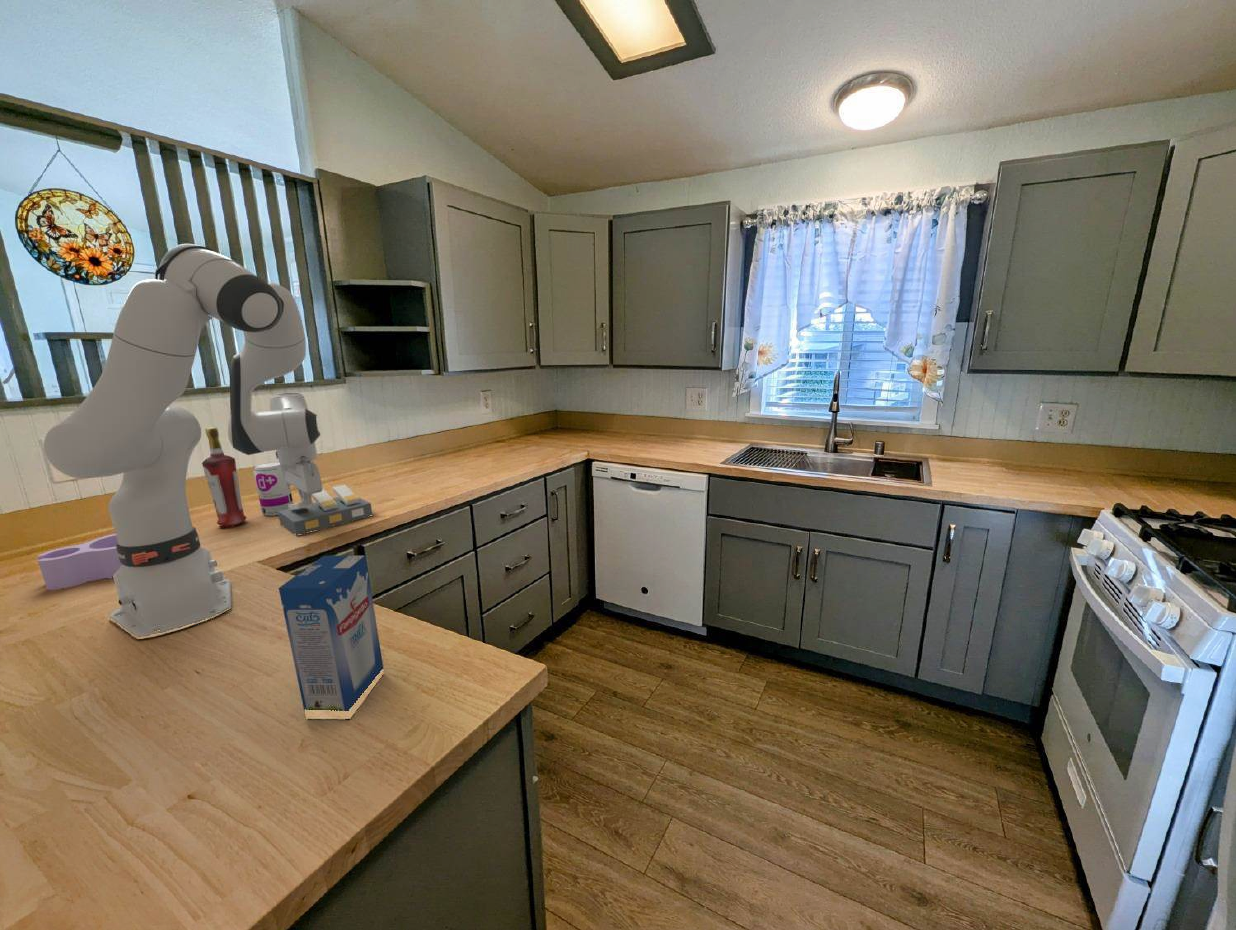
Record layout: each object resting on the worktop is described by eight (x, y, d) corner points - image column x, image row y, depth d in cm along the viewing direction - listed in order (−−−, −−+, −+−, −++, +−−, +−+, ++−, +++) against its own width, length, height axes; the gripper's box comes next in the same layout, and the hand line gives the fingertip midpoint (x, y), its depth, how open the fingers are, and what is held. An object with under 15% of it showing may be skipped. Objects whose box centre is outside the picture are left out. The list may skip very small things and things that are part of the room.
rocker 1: (313, 505, 140) (312, 500, 140) (299, 508, 138) (297, 503, 138) (302, 505, 147) (301, 501, 147) (289, 509, 145) (287, 504, 145)
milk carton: (345, 673, 80) (324, 555, 75) (384, 673, 79) (365, 554, 74) (305, 720, 70) (278, 588, 65) (350, 720, 70) (325, 587, 65)
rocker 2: (337, 507, 145) (337, 503, 145) (324, 510, 143) (323, 506, 142) (323, 492, 151) (323, 488, 150) (310, 495, 149) (310, 491, 148)
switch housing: (373, 516, 151) (370, 500, 149) (297, 536, 136) (293, 519, 135) (353, 506, 160) (351, 491, 159) (280, 524, 146) (277, 508, 144)
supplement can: (283, 516, 152) (273, 467, 149) (256, 516, 152) (245, 468, 149) (300, 507, 160) (291, 461, 156) (274, 507, 160) (264, 461, 157)
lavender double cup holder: (48, 596, 107) (38, 566, 105) (46, 579, 115) (36, 550, 113) (171, 563, 122) (164, 536, 120) (162, 550, 130) (155, 525, 128)
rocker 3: (359, 502, 150) (359, 498, 149) (346, 505, 147) (346, 501, 147) (345, 488, 155) (344, 484, 155) (332, 490, 153) (332, 486, 152)
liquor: (212, 526, 146) (190, 429, 139) (242, 518, 151) (222, 425, 144) (222, 531, 142) (199, 431, 135) (252, 523, 147) (232, 427, 140)
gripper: (324, 456, 131) (333, 508, 134) (299, 447, 145) (307, 494, 148) (296, 461, 127) (306, 514, 130) (273, 451, 140) (282, 499, 144)
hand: (307, 503), depth 139 cm, fingers closed
